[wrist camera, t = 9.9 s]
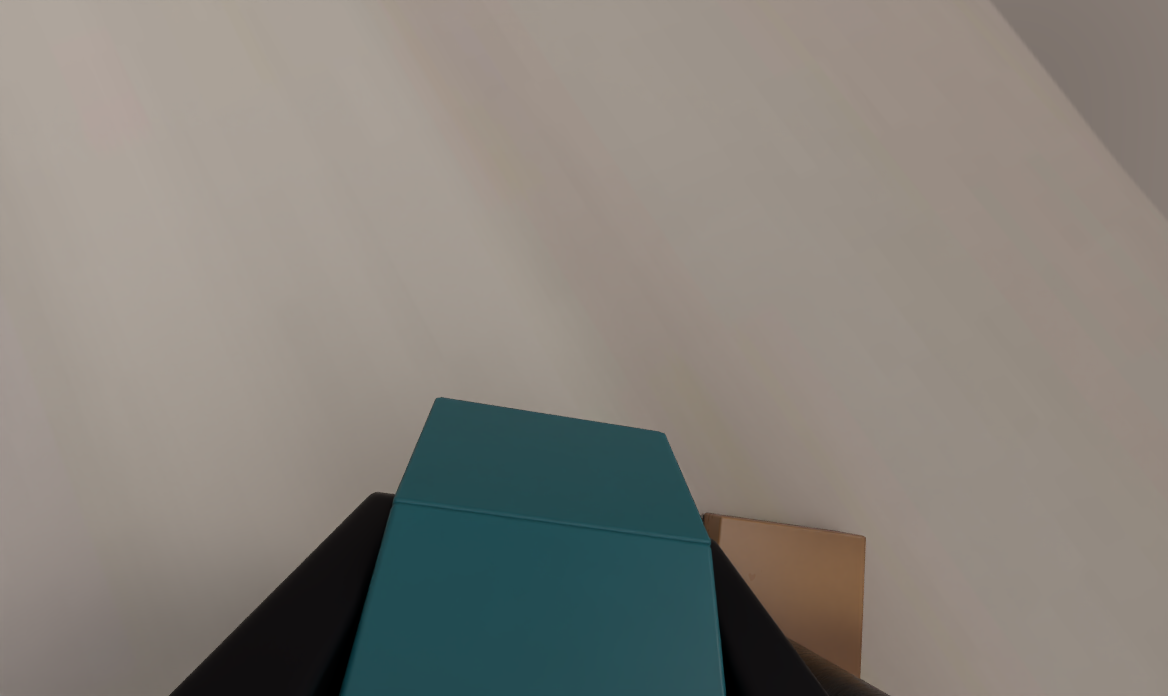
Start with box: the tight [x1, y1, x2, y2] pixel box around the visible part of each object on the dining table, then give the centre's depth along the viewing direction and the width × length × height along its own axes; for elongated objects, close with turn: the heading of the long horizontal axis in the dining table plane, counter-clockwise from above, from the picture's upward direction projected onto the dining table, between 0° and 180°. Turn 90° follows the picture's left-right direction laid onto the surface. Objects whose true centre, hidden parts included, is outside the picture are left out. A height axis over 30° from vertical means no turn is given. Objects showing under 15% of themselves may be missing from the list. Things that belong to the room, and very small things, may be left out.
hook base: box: [704, 513, 866, 678], centre depth 19 cm, size 8×5×2 cm, turn 172°
